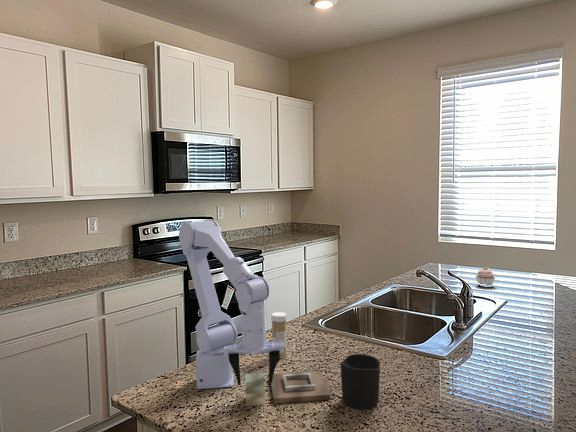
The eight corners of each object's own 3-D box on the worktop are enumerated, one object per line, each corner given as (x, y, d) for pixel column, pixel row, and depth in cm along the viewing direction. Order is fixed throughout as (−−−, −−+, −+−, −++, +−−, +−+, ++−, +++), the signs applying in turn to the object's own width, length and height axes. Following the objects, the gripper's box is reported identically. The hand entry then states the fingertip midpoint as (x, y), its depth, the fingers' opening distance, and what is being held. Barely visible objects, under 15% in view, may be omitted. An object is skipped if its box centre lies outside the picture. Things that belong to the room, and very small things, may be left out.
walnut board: (274, 403, 109) (273, 394, 109) (270, 378, 123) (269, 370, 123) (330, 399, 111) (330, 390, 111) (320, 375, 125) (320, 367, 125)
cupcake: (477, 288, 219) (477, 268, 218) (473, 284, 228) (473, 264, 227) (498, 288, 217) (498, 268, 216) (492, 284, 226) (492, 264, 226)
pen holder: (387, 407, 106) (387, 366, 106) (350, 413, 104) (350, 372, 103) (369, 390, 115) (368, 352, 115) (335, 395, 113) (334, 356, 112)
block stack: (246, 406, 108) (245, 382, 108) (245, 397, 113) (245, 374, 112) (264, 404, 109) (264, 380, 108) (263, 396, 113) (263, 372, 113)
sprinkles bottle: (271, 354, 141) (270, 311, 140) (286, 353, 141) (285, 311, 140) (272, 359, 136) (271, 316, 135) (287, 358, 136) (286, 315, 135)
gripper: (222, 335, 105) (224, 391, 106) (284, 331, 106) (285, 387, 107) (223, 325, 112) (225, 378, 113) (281, 322, 113) (283, 374, 114)
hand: (254, 382), depth 110 cm, fingers open, 7 cm apart
